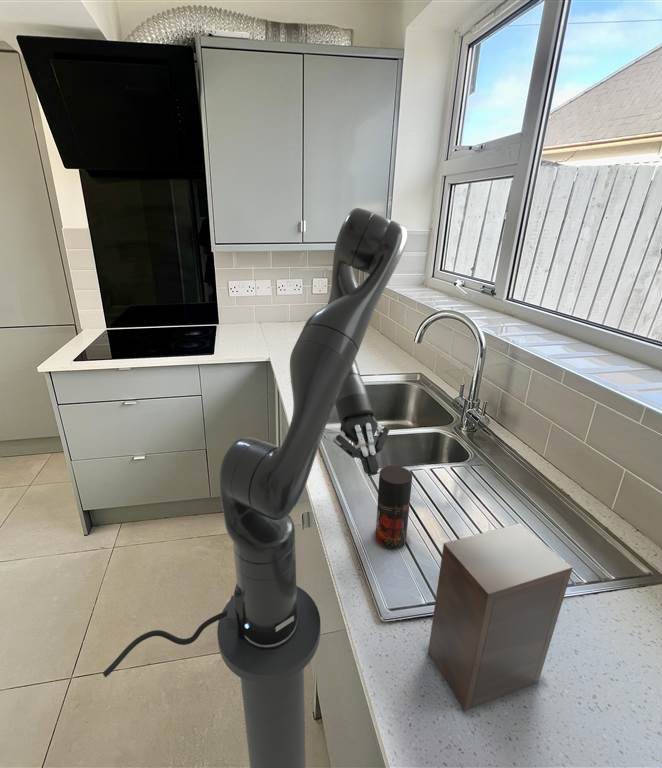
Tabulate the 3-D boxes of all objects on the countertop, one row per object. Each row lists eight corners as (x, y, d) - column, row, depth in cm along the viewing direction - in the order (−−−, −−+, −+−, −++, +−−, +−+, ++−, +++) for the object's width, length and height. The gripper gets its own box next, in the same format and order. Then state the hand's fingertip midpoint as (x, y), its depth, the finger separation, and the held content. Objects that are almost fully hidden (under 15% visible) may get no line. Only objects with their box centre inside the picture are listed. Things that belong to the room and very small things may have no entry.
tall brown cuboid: (427, 652, 59) (443, 543, 51) (495, 628, 62) (519, 522, 55) (464, 711, 52) (488, 594, 44) (538, 681, 55) (573, 567, 48)
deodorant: (369, 533, 82) (373, 470, 76) (393, 525, 84) (399, 462, 78) (386, 553, 77) (392, 487, 71) (412, 543, 79) (419, 478, 73)
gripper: (327, 396, 86) (349, 477, 79) (383, 388, 89) (408, 465, 83) (319, 409, 92) (338, 484, 86) (371, 401, 96) (394, 473, 90)
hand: (373, 474), depth 85 cm, fingers closed
